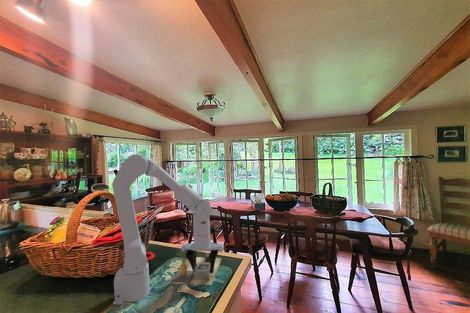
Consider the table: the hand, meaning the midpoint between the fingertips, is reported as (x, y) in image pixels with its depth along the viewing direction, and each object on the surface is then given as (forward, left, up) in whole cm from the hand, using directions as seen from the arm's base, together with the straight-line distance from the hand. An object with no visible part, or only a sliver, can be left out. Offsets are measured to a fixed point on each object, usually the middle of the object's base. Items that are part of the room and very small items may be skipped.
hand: (203, 271), depth 77 cm
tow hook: (-30, +13, -3) cm, 33 cm away
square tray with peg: (-7, -1, -2) cm, 7 cm away
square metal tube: (0, 0, -1) cm, 1 cm away
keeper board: (-3, +4, -2) cm, 5 cm away
